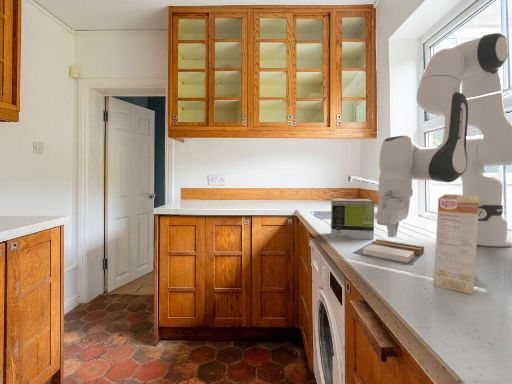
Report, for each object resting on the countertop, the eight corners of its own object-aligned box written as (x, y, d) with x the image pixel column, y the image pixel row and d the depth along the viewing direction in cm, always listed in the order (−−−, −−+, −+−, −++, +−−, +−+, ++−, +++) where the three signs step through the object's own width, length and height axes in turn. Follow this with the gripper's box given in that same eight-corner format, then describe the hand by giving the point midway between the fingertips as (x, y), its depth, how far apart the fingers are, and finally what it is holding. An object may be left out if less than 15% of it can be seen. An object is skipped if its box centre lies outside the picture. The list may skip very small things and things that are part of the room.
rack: (376, 244, 93) (376, 238, 93) (423, 252, 84) (424, 246, 84) (371, 246, 90) (371, 241, 89) (420, 255, 80) (421, 249, 80)
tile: (370, 244, 86) (362, 248, 80) (414, 251, 78) (408, 257, 73) (370, 249, 86) (362, 254, 81) (413, 257, 78) (408, 263, 73)
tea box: (368, 235, 110) (370, 198, 109) (373, 241, 100) (375, 201, 99) (330, 233, 113) (331, 197, 112) (331, 238, 104) (332, 199, 103)
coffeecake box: (439, 268, 71) (444, 193, 70) (474, 275, 67) (479, 195, 66) (431, 286, 60) (436, 197, 58) (473, 295, 55) (479, 199, 54)
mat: (370, 244, 95) (371, 242, 95) (424, 253, 85) (424, 251, 84) (351, 254, 82) (351, 253, 82) (411, 267, 72) (411, 265, 72)
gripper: (396, 192, 71) (394, 244, 72) (413, 190, 87) (411, 233, 87) (371, 191, 75) (369, 240, 76) (392, 189, 91) (390, 230, 92)
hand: (392, 236), depth 82 cm, fingers closed
